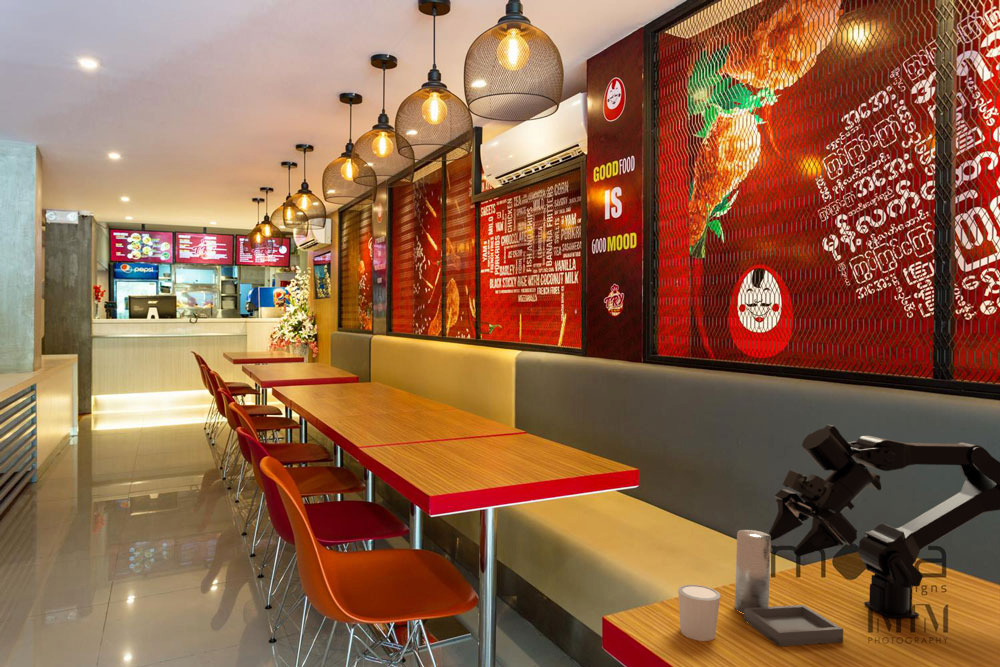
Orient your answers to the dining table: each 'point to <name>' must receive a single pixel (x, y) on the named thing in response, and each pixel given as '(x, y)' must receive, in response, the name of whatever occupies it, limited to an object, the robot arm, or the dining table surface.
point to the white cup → (698, 611)
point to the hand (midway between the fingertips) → (781, 546)
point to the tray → (793, 625)
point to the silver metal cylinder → (752, 569)
